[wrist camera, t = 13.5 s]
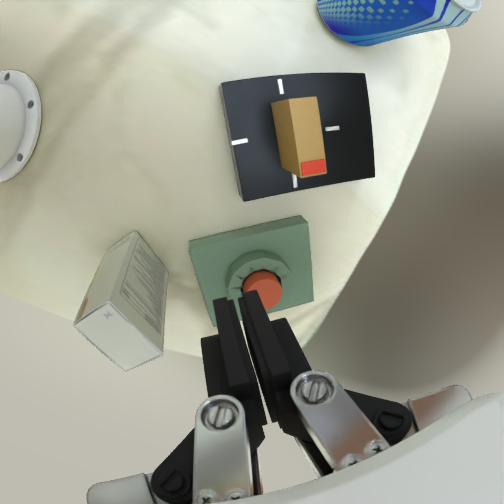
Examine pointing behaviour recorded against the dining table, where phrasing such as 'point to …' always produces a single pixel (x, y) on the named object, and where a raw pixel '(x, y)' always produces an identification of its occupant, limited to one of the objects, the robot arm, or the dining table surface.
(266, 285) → the button
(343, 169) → the base
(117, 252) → the cosmetic box
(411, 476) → the robot arm
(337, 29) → the beer can
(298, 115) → the tap handle
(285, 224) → the button block
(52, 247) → the dining table surface
